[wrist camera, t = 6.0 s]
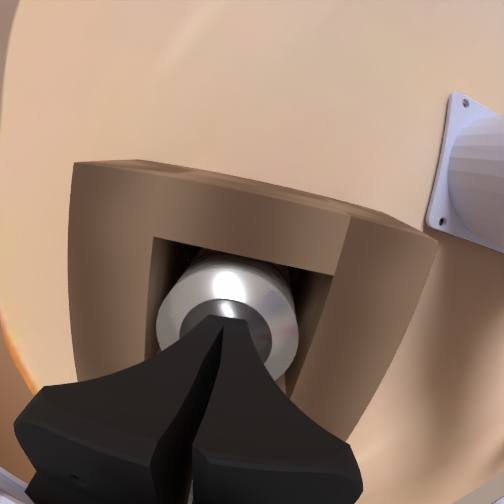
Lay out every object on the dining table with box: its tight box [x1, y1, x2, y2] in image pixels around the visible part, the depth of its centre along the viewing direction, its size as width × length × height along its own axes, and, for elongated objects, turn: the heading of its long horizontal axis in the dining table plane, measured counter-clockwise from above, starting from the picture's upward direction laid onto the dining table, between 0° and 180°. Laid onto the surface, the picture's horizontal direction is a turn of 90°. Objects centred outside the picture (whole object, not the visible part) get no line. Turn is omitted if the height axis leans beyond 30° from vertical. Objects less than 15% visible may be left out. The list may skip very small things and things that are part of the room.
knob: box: [156, 247, 299, 381], centre depth 13 cm, size 5×5×6 cm
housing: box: [68, 160, 439, 442], centre depth 15 cm, size 13×22×6 cm, turn 168°
